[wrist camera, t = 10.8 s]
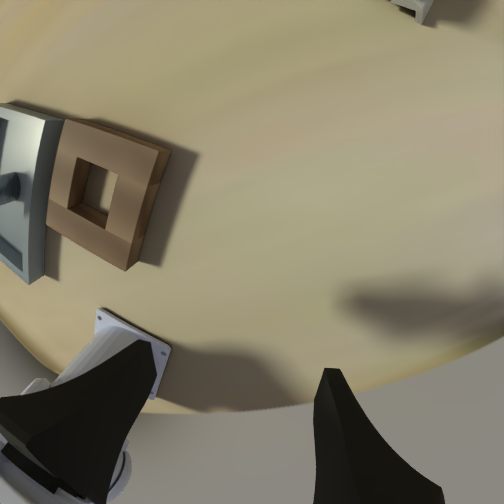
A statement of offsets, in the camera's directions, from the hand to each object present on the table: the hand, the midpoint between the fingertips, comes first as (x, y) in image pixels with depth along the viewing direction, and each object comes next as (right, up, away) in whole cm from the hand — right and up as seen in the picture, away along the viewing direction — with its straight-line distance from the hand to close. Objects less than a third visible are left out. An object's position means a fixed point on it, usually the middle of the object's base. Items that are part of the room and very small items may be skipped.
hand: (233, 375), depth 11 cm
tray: (-23, +12, +10) cm, 28 cm away
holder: (-11, +10, +9) cm, 17 cm away
